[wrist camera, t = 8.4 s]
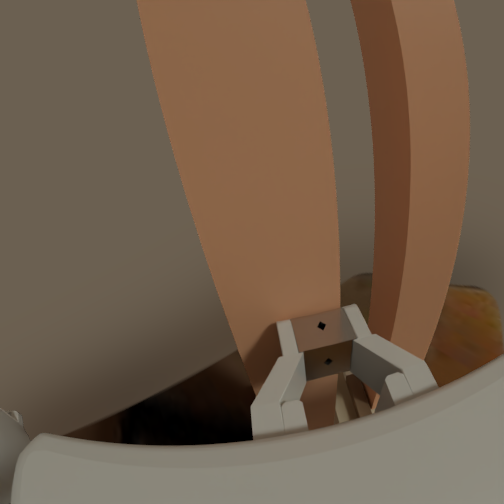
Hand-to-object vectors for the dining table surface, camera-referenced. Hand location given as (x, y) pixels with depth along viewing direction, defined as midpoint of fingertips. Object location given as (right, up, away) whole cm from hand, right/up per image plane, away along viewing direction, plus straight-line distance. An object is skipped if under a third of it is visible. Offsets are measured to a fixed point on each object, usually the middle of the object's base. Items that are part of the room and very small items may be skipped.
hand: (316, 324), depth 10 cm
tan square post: (+11, -11, +15) cm, 21 cm away
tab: (+2, -15, +12) cm, 19 cm away
